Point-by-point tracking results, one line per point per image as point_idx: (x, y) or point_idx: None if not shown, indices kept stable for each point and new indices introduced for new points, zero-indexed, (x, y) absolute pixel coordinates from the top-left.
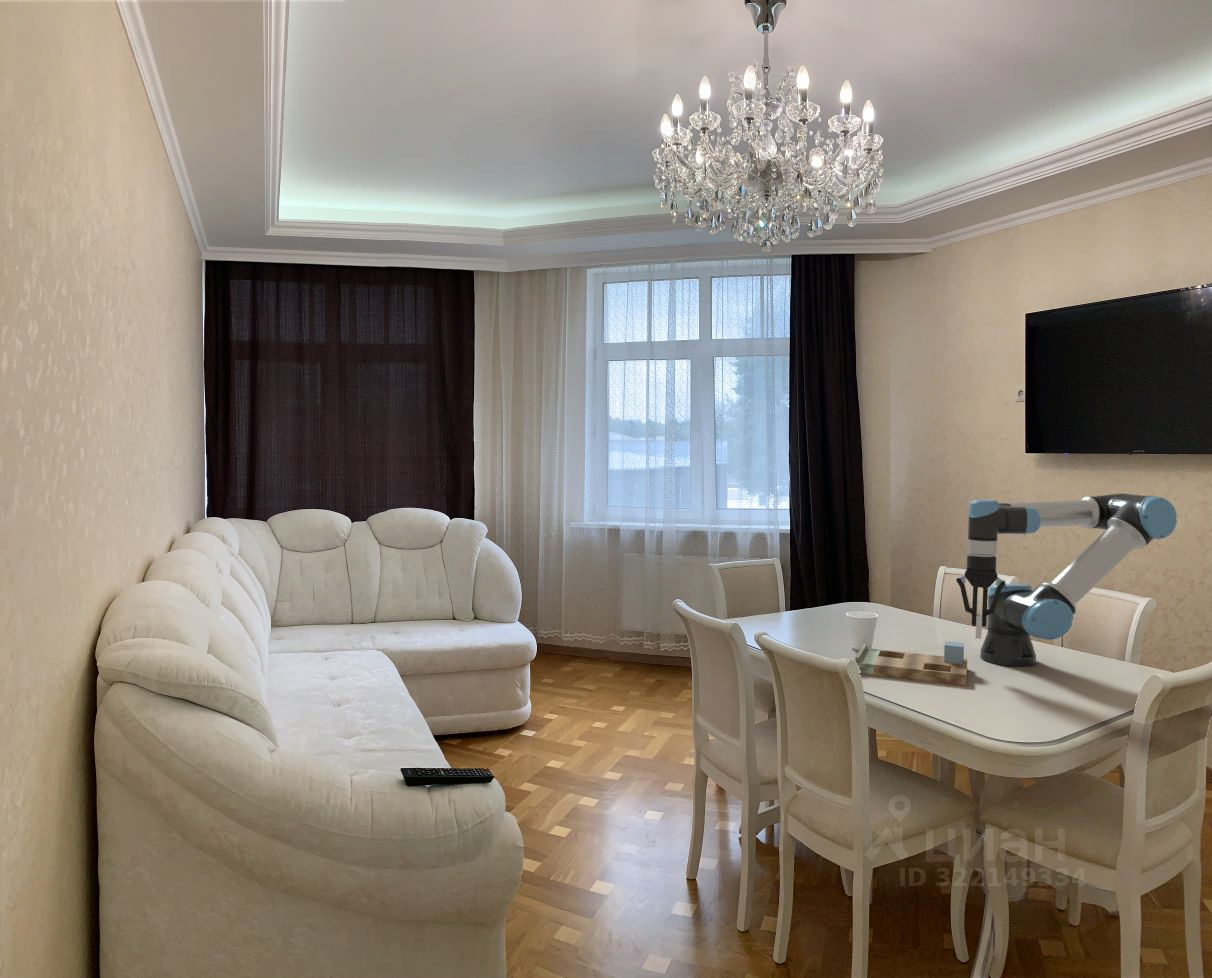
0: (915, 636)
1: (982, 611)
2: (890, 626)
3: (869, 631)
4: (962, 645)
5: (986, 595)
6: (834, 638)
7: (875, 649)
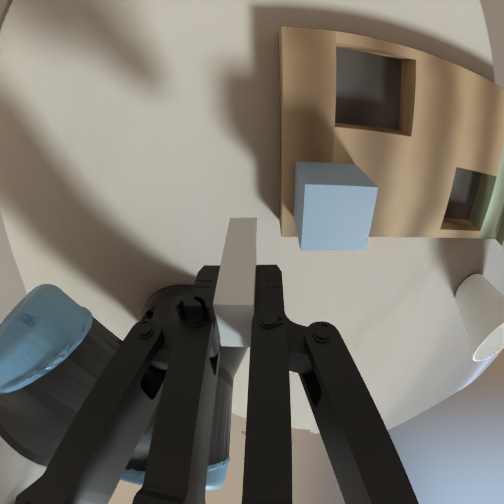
0: None
1: (207, 333)
2: (375, 399)
3: (485, 304)
4: (308, 207)
5: (157, 460)
6: None
7: (485, 236)
